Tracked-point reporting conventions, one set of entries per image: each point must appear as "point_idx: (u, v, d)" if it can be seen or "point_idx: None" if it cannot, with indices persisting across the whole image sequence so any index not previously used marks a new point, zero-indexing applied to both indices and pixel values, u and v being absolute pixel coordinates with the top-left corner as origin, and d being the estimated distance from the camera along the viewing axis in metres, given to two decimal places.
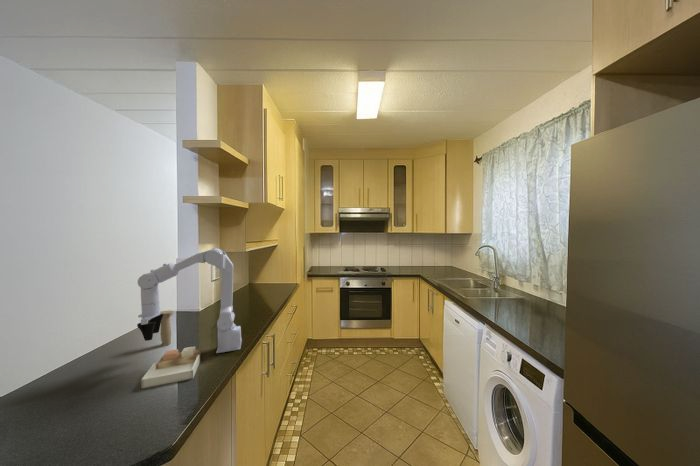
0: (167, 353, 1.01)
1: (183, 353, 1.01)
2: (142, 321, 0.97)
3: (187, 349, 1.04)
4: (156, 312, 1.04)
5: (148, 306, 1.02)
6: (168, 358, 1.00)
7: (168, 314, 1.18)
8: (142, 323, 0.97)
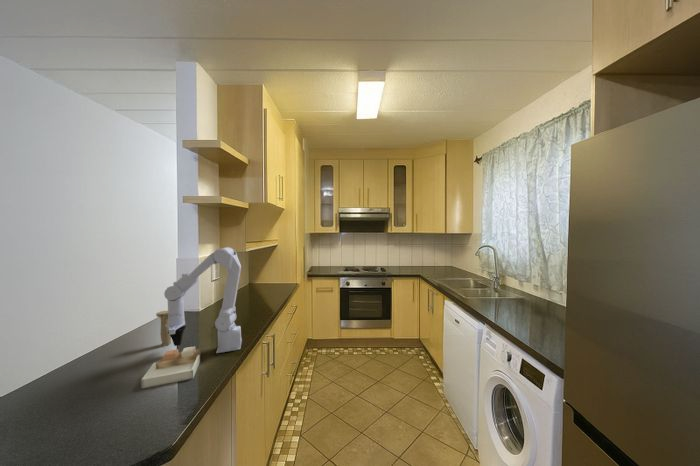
0: (167, 353, 1.01)
1: (183, 353, 1.01)
2: (170, 331, 1.04)
3: (187, 349, 1.04)
4: (182, 322, 1.10)
5: (175, 317, 1.08)
6: (168, 358, 1.00)
7: None
8: (170, 333, 1.04)
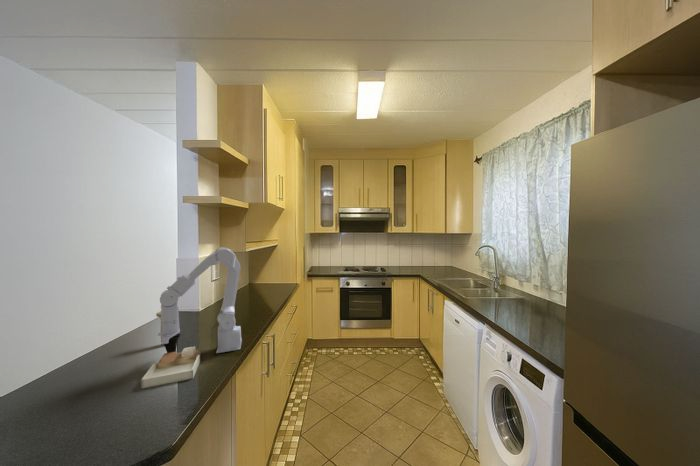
0: (165, 355, 0.99)
1: (183, 353, 1.01)
2: (163, 340, 0.96)
3: (187, 349, 1.04)
4: (176, 330, 1.02)
5: (168, 324, 1.00)
6: (166, 361, 0.98)
7: None
8: (163, 342, 0.96)
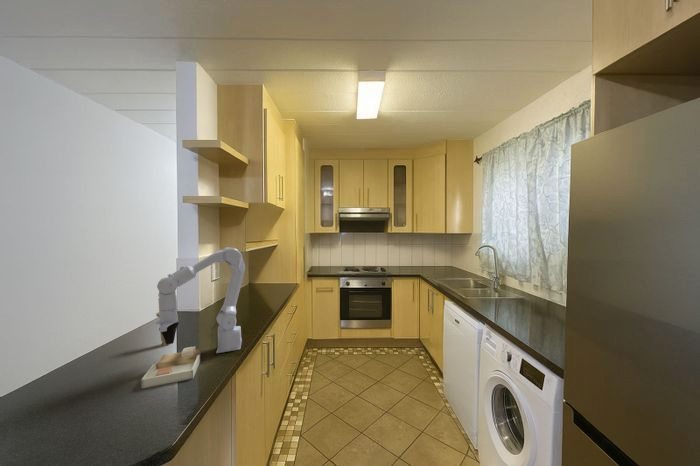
0: None
1: (183, 353, 1.01)
2: (161, 328, 0.94)
3: (187, 349, 1.04)
4: (174, 318, 1.00)
5: (166, 312, 0.98)
6: None
7: None
8: (161, 330, 0.94)
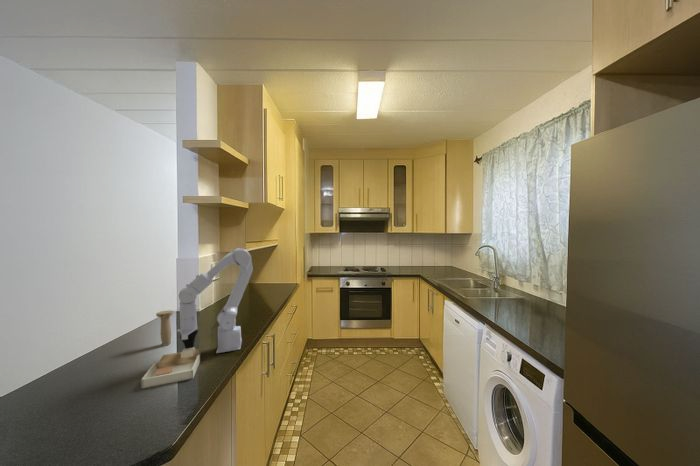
0: None
1: (182, 354, 1.01)
2: (182, 336, 0.99)
3: (187, 349, 1.03)
4: (194, 326, 1.05)
5: (187, 321, 1.03)
6: None
7: (168, 314, 1.18)
8: (182, 338, 0.99)
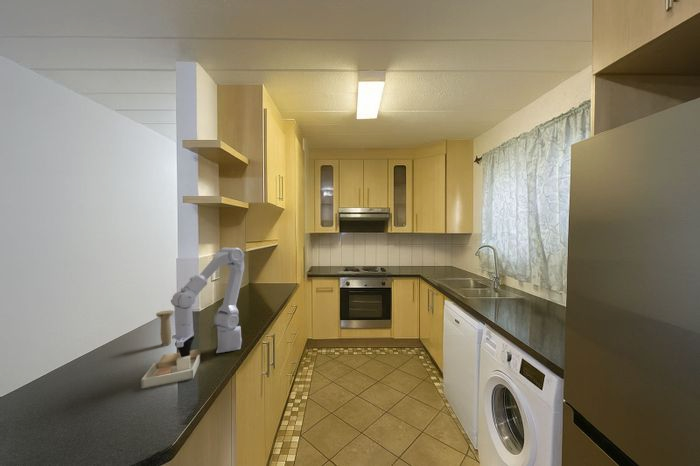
0: None
1: None
2: (178, 344, 0.92)
3: (181, 363, 0.96)
4: (190, 333, 0.98)
5: (182, 327, 0.97)
6: None
7: (168, 314, 1.18)
8: (178, 346, 0.92)
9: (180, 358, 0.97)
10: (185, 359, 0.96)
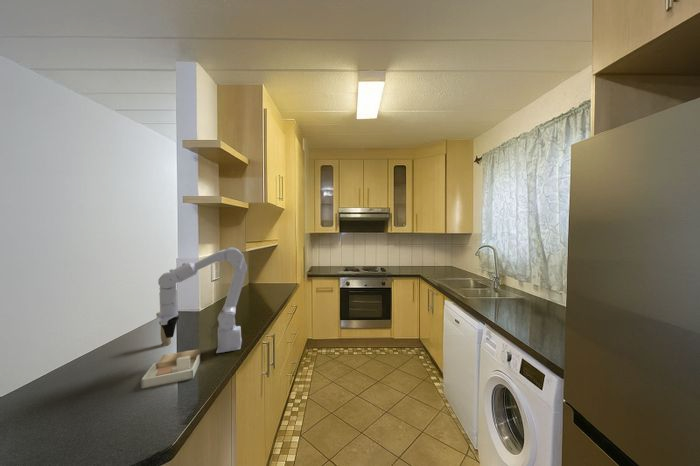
0: None
1: None
2: (161, 321, 0.96)
3: (181, 363, 0.96)
4: (174, 312, 1.02)
5: (167, 306, 1.00)
6: None
7: None
8: (161, 323, 0.96)
9: (180, 358, 0.97)
10: (185, 359, 0.96)
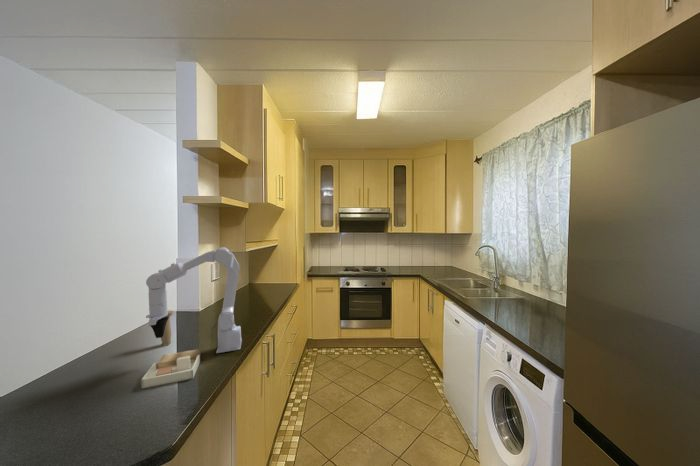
0: None
1: None
2: (150, 322, 0.96)
3: (181, 363, 0.96)
4: (164, 313, 1.02)
5: (156, 307, 1.00)
6: None
7: (168, 314, 1.18)
8: (150, 324, 0.96)
9: (180, 358, 0.97)
10: (185, 359, 0.96)
